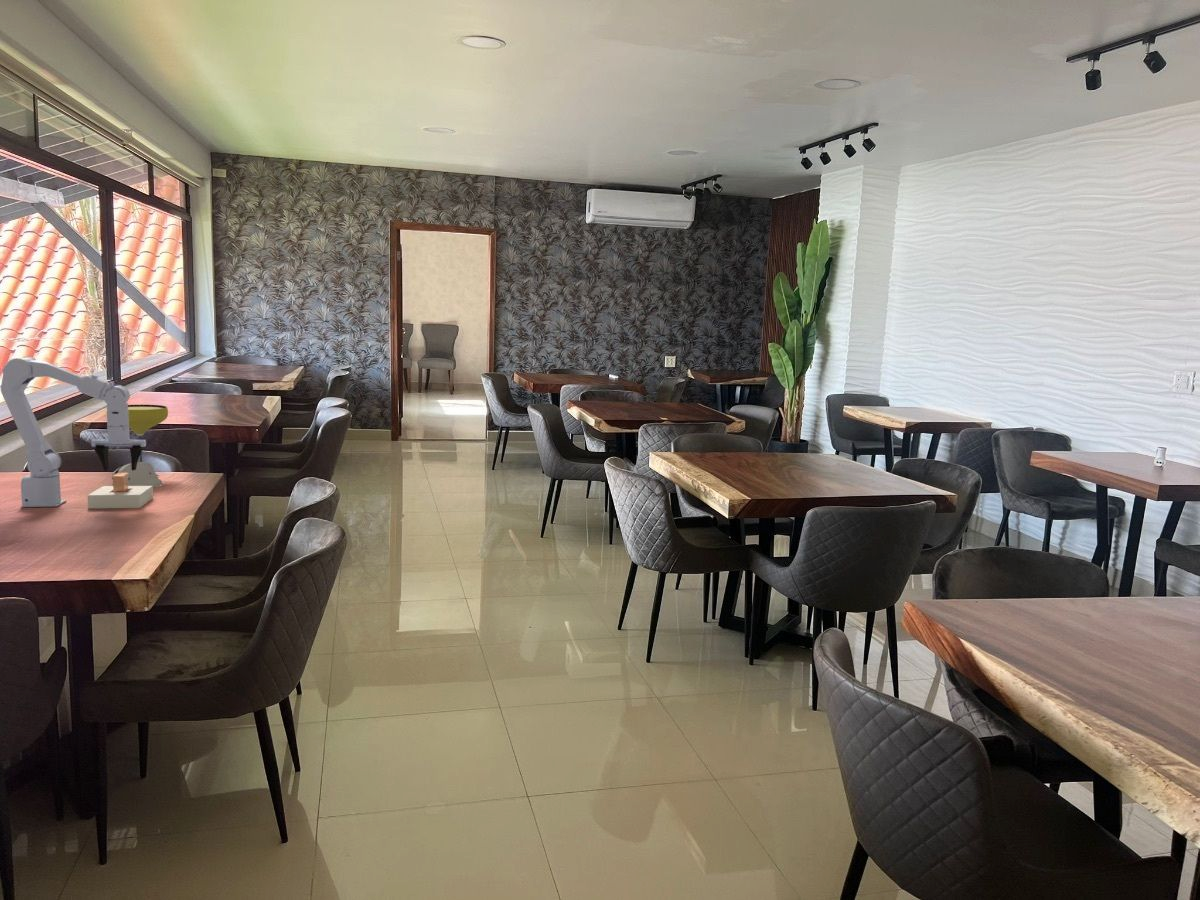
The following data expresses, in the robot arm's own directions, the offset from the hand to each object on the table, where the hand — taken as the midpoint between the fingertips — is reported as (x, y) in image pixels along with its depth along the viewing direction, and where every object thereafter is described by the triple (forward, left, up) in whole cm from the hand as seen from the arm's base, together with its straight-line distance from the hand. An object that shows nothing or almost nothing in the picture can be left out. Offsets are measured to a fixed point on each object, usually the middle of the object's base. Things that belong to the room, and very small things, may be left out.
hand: (120, 469), depth 256 cm
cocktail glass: (-6, +44, -11) cm, 45 cm away
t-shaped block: (0, 0, -10) cm, 10 cm away
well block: (0, 0, -10) cm, 10 cm away
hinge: (-2, +23, -11) cm, 25 cm away
